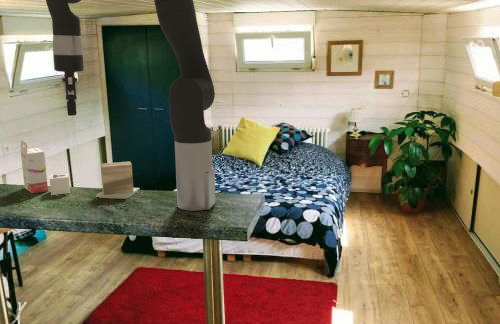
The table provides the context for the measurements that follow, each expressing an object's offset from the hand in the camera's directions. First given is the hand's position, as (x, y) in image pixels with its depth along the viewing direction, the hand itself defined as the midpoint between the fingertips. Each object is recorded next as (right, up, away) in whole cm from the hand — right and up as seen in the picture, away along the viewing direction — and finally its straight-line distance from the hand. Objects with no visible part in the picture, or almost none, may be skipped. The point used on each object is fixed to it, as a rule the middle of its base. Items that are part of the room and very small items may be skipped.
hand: (71, 113), depth 135 cm
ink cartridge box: (-14, -22, +9) cm, 27 cm away
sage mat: (+12, -22, +3) cm, 26 cm away
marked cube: (-5, -22, +5) cm, 23 cm away
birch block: (+12, -22, +3) cm, 25 cm away
